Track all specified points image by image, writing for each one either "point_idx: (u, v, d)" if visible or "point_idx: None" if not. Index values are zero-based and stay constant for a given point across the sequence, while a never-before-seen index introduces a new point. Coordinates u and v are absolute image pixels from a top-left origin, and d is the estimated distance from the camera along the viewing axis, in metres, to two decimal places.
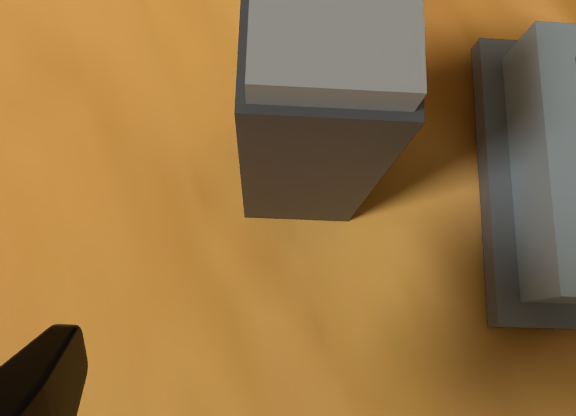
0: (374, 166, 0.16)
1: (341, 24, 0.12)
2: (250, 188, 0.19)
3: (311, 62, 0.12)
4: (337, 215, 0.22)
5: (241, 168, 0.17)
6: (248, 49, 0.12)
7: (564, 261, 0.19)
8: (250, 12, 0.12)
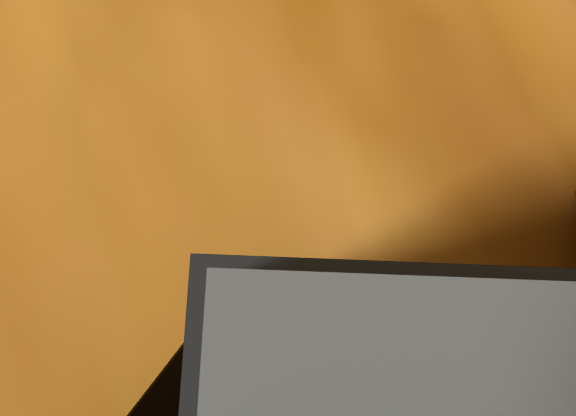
0: None
1: None
2: None
3: None
4: None
5: None
6: None
7: None
8: None
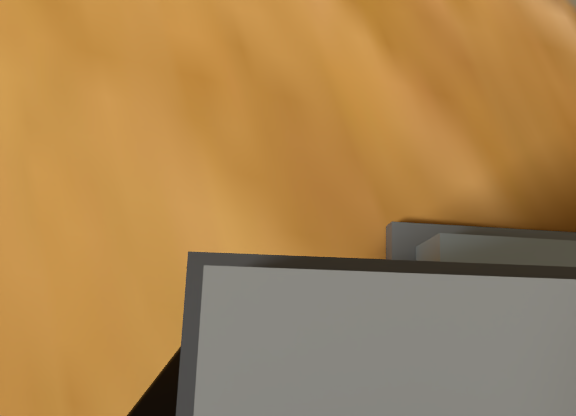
0: None
1: None
2: None
3: None
4: None
5: None
6: None
7: None
8: None
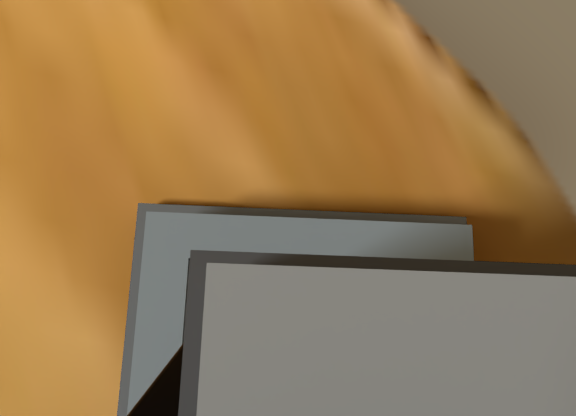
0: None
1: None
2: None
3: None
4: None
5: None
6: None
7: None
8: None
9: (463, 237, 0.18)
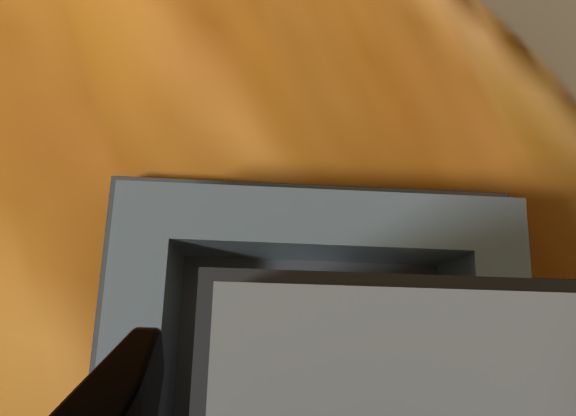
0: None
1: None
2: None
3: None
4: None
5: None
6: None
7: None
8: None
9: (515, 213, 0.14)
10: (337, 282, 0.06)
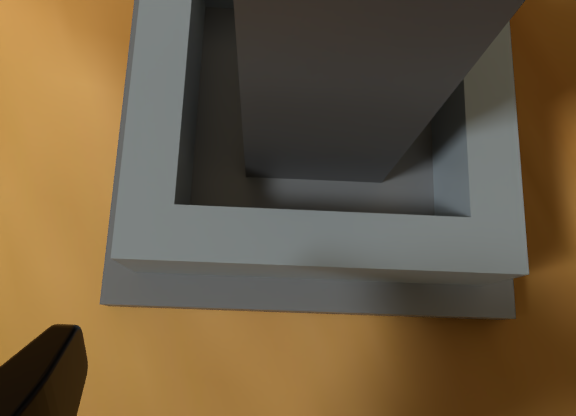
0: (444, 72, 0.11)
1: None
2: (254, 123, 0.13)
3: None
4: (369, 173, 0.17)
5: (241, 78, 0.11)
6: None
7: (125, 211, 0.14)
8: None
9: None
10: None
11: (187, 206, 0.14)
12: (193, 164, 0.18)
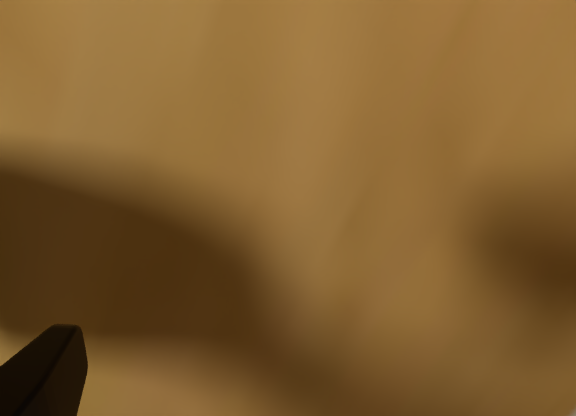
0: None
1: None
2: None
3: None
4: None
5: None
6: None
7: None
8: None
9: None
10: None
11: None
12: None
